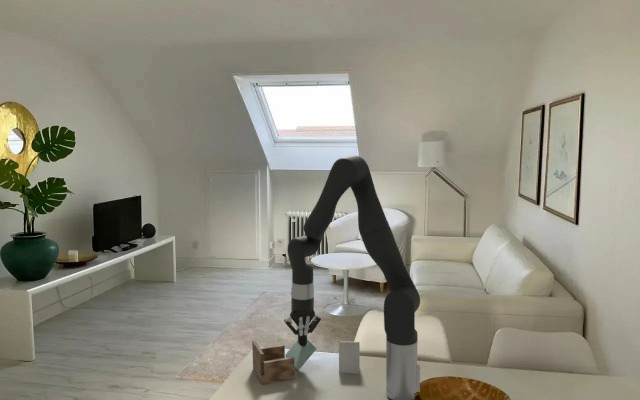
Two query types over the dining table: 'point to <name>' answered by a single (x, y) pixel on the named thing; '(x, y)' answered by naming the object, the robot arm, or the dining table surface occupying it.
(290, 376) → the brown wooden open box
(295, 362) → the panel
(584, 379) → the dining table surface
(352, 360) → the grey wedge block
